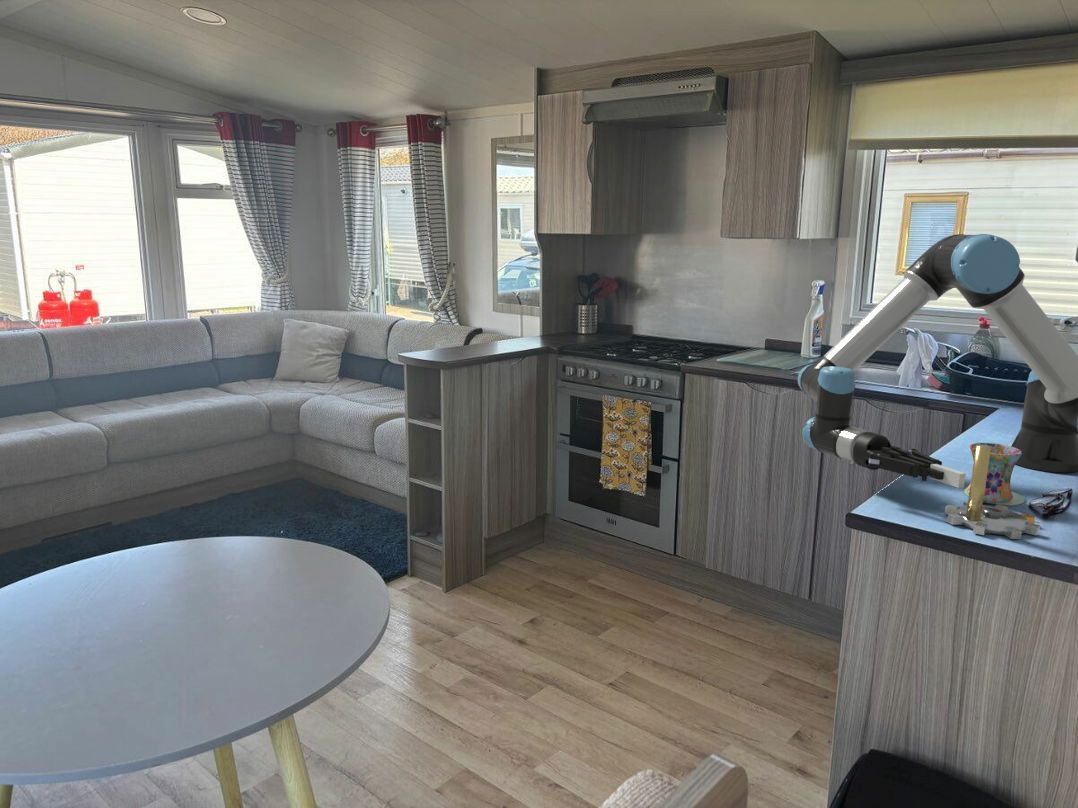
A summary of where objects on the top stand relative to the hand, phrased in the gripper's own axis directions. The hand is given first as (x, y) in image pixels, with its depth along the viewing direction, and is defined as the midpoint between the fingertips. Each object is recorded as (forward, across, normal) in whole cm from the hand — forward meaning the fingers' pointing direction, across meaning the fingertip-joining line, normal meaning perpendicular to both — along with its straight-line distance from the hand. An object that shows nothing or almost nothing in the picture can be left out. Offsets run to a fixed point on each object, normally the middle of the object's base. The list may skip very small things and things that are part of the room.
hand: (961, 480), depth 149 cm
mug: (-8, -19, -8) cm, 22 cm away
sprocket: (+3, -6, -8) cm, 11 cm away
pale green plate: (-8, -22, -8) cm, 25 cm away
